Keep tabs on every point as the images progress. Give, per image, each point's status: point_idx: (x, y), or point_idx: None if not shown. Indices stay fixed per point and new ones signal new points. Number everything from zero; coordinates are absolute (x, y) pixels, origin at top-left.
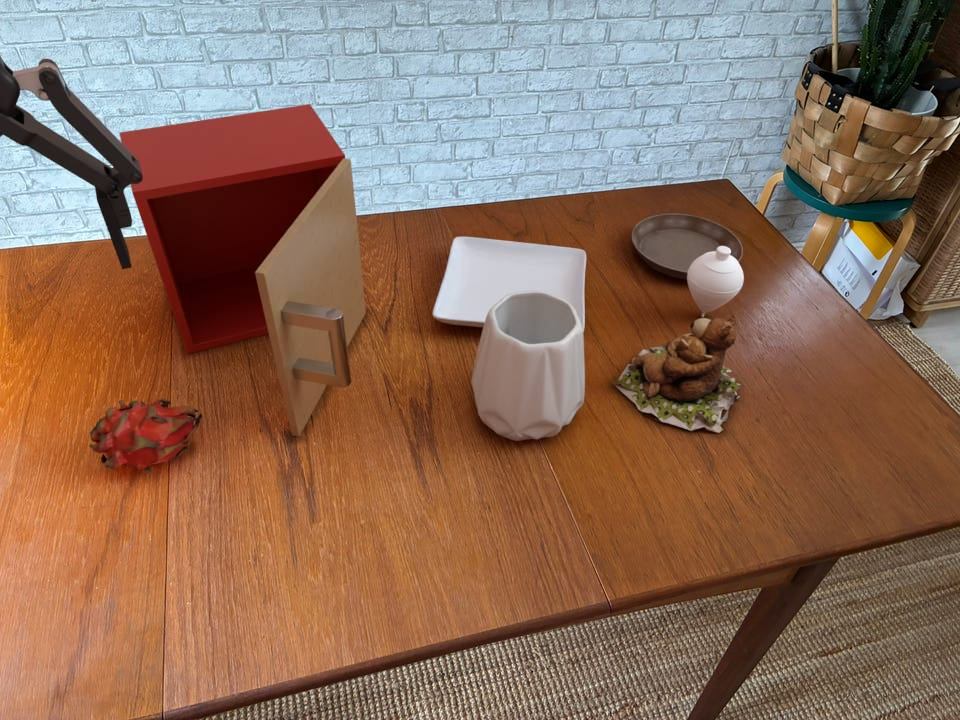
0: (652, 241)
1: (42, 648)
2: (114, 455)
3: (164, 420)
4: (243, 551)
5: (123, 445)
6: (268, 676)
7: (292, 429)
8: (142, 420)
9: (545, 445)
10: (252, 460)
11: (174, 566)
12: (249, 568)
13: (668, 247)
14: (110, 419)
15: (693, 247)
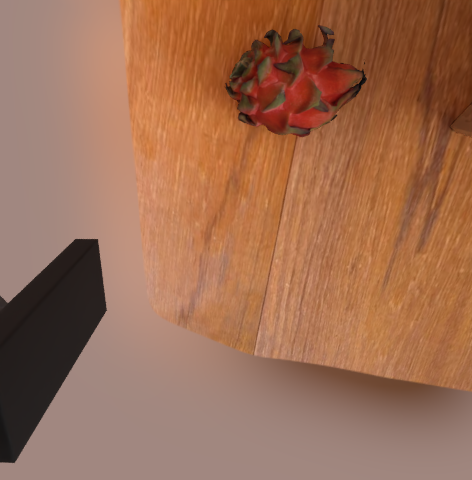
0: None
1: (170, 275)
2: (253, 121)
3: (326, 110)
4: (345, 255)
5: (268, 122)
6: (329, 363)
7: (457, 130)
8: (301, 108)
9: None
10: (391, 144)
11: (282, 245)
12: (344, 274)
13: None
14: (261, 84)
15: None
